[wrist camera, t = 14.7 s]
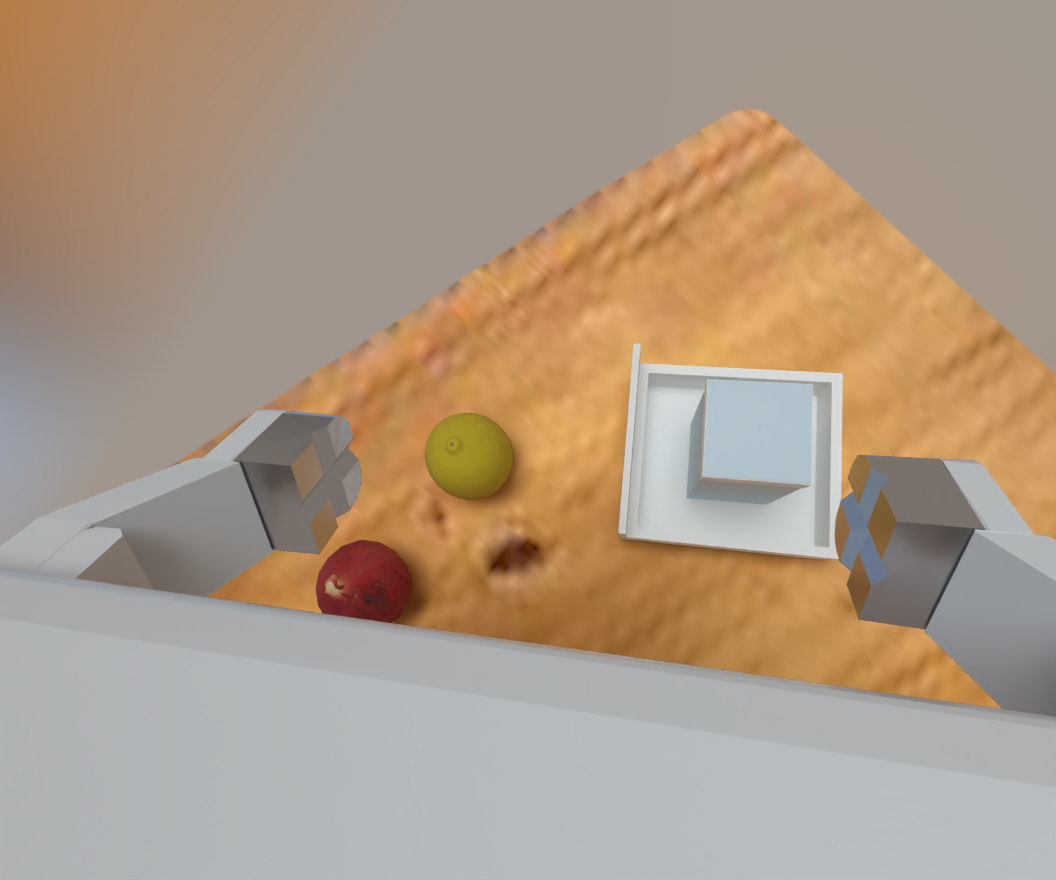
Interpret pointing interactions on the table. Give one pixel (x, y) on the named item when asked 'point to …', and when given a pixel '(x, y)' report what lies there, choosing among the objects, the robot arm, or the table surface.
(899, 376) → the table surface
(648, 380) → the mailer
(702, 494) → the carton
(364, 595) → the onion
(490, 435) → the lemon
